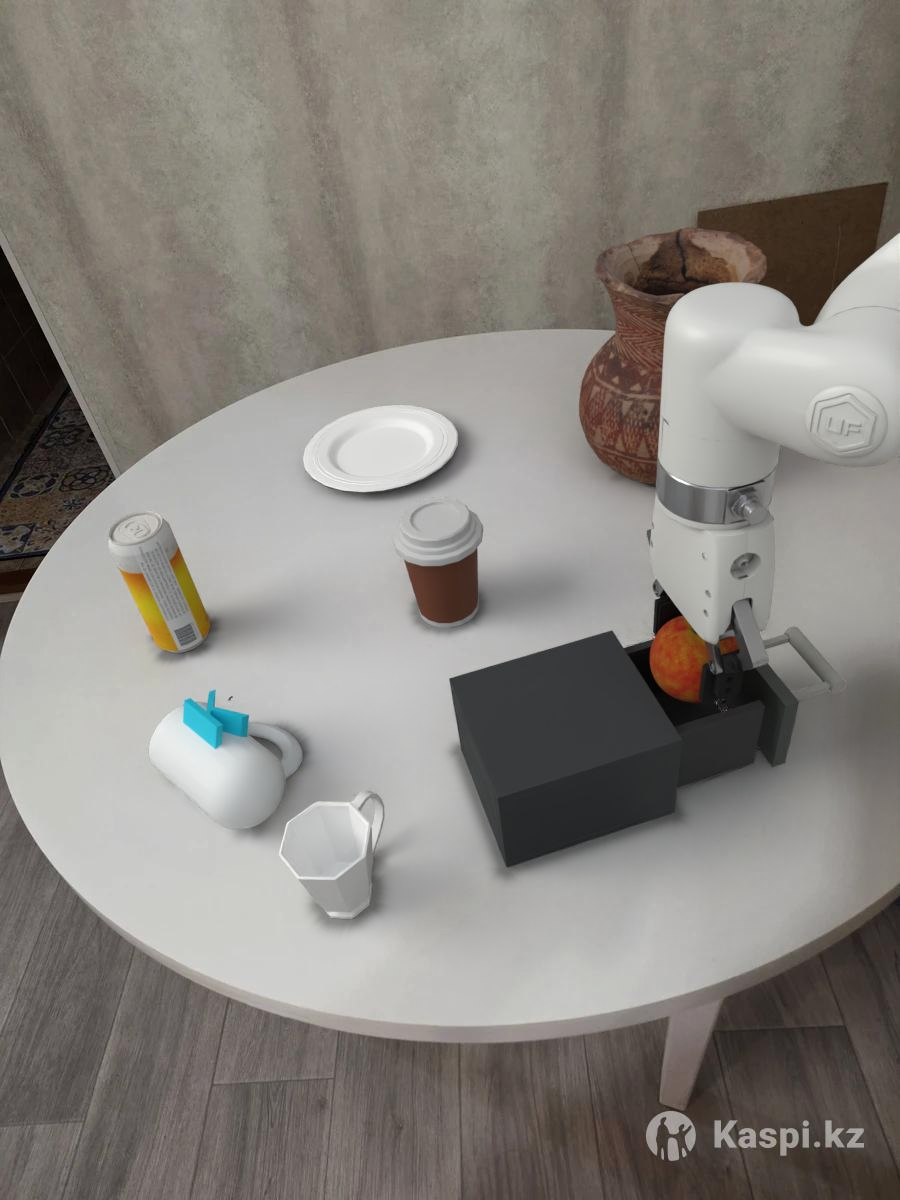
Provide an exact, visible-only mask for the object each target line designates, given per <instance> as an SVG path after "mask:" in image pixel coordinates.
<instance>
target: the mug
mask: <svg viewBox="0 0 900 1200" xmlns="http://www.w3.org/2000/svg"><path fill="white" fill-rule="evenodd" d="M216 692H217V691H216V689H213V690H210V691H208V697H207V702H204V701H197V700H196V701H195V700H194V699H193V698H192V697H189V698H187V699H184V700H183V705H182V704H181V705H180V706H178V707H176V708H174V709H173V710H171V712H169V713H168V714H166V715H165V717H163V719H162V720H161V721H160V722H159V724H158V725H157V726H156V727H155V730H154V732H153V734H152V736H151V738H150V742H149V746H148V754H149V761H150V762H151V764H152V765H153V766H154V768H155V769H156V770H157V771H159V773H161V774H162V776H164V777H165V778H166V779H167V780H168V781H170V782H171V784H173V785H174V786H175V787H176V788H177V789H178V790H179V791H181V792H182V794H184V795H185V797H187V798H188V799H189V800H190V801H192V803H194V804H195V805H196V806H197V807H198V808H199V809H200V810H201V811H203V812H204V813H205V814H206V815H207V816H208V817H209V818H210V819H212V821H213V822H215V824H217V825H219V826H221V827H223V828H226V829H229V830H237V831H238V830H239V831H240V830H247V829H250V828H254V827H256V826H258V825H260V824H262V823H263V822H265V821H266V820H268V819H269V818H270V817H271V816H272V815H273V814H274V813H275V811H276V810H277V809H278V808H279V806H280V804H281V802H282V800H283V798H284V795H285V790H286V779H287V778H289V777H291V776H292V775H293V774H294V773H295V772H296V771H297V770H298V769H299V768H300V766H301V763H302V761H303V749H302V746H301V744H300V742H299V740H297V739H296V738H295V736H293V735H292V734H291V733H290V732H288V731H286V730H285V729H283V728H282V727H280V726H276V725H274V724H270V723H266V722H265V723H264V722H260V721H249V720H250V714H246V713H243V712H239V711H234V710H229V709H225V708H222V707H218V706H216V705H215V704H216ZM253 737H255V738H261V739H264V740H267V741H270V742H271V743H273V744H275V745H276V746H277V747H278V748H279V749H280V752H281V759H280V760H279V759H278V757H277V756H276V755H275V754H274V753H272V752H271V751H270V750H269V749H268V748H266V747H264V745H262V744H261V743H260V742H258V741H257V740H256V739H255V738H253Z"/></svg>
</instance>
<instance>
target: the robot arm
mask: <svg viewBox="0 0 900 1200" xmlns="http://www.w3.org/2000/svg"><path fill="white" fill-rule="evenodd" d="M781 446H782V447H785V448H787V449H789V450H792V451H795V452H796V453H799V454H802V455H804V456H806V457H808V458H812V459H815V460H817V461H820V462H824V463H827V464H831V465H834V466H839V467H848V468H871V467H876V466H880V465H884V464H886V463H889V462H891V461H894V460H896V459H897V458H899V457H900V232H899V233H897V234H896V235H895V236H894V237H892V238H891V239H890V240H889V241H887V242H886V243H885V244H884V245H883V246H881V247H880V248H879V249H878V250H877V251H875V252H874V253H873V254H871V255H870V256H869V257H868V258H867V259H865V261H863V262H862V263H861V264H859V266H857V267H856V268H855V269H853V271H852V272H850V274H848V275H847V277H845V278H844V279H843V281H841V283H840V284H839V285H838V286H837V287H836V288H835V290H834V291H833V292H832V293H831V294H830V296H829V297H828V299H827V300H826V302H825V303H824V305H823V306H822V308H821V309H820V311H819V313H818V315H817V317H816V318H815V320H814V322H813V323H812V324H811V325H808V326H807V325H803V324H802V323H801V320H800V316H799V313H798V310H797V307H796V306H795V304H794V303H793V301H792V300H791V299H790V298H789V297H788V296H786V295H785V294H784V293H782V292H781V291H779V290H777V289H775V288H772V287H771V286H767V285H762V284H760V283H758V284H752V283H741V282H731V283H720V284H714V285H708V286H704V287H701V288H698V289H696V290H693V291H691V292H690V293H688V294H686V295H685V296H683V297H682V298H681V299H679V300H678V301H677V303H676V304H675V305H674V306H673V308H672V309H671V311H670V313H669V315H668V318H667V321H666V325H665V334H664V350H663V369H662V387H661V406H660V427H659V446H658V459H657V478H656V485H655V499H654V504H653V512H652V519H651V526H650V527H651V528H649V529H647V530H646V538H647V541H648V545H649V562H650V564H649V565H650V569H651V571H652V573H653V576H654V577H655V579H654V581H653V583H652V591H653V594H654V596H655V597H656V598H655V599H654V607H653V623H652V633H653V635H654V637H655V636H656V634H657V633H658V631H659V630H660V629H661V627H662V626H663V625H665V624H666V623H667V622H669V621H670V620H672V619H674V618H677V617H679V616H684V617H685V619H686V620H687V621H688V622H689V624H690V625H691V626H692V628H693V629H694V630H695V631H696V633H697V634H698V635H699V636H700V637H701V638H702V639H703V640H705V646H706V652H707V658H708V663H705V664H704V665H703V667H702V675H701V684H700V692H699V699H700V701H701V702H702V703H703V704H708V703H712V702H715V703H716V702H717V701H724V700H725V699H729V698H731V697H733V696H734V695H737V694H738V693H739V692H740V689H741V683H742V677H743V671H746V670H751V669H754V668H758V667H761V666H764V665H767V664H769V665H770V658H769V655H768V651H767V649H765V646H764V643H763V641H764V640H763V637H762V635H761V632H763V631H765V630H766V629H767V627H768V624H769V621H770V616H771V609H772V603H773V594H774V586H775V571H776V531H775V522H774V516H773V515H772V513H771V512H770V508H771V504H772V500H773V494H774V488H775V481H776V475H777V470H778V463H779V456H780V451H781ZM730 622H731V624H730ZM731 637H733V641H734V647H735V651H732V652H728V653H725V654H722V655H721V652H720V646H719V641H721V640H724V639H728V638H731Z"/></svg>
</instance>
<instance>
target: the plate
mask: <svg viewBox="0 0 900 1200" xmlns="http://www.w3.org/2000/svg"><path fill="white" fill-rule="evenodd" d="M458 447H459V433H458V430H457V428H456V426H455V424H454V423H453V422H452V421H450V420H449V419H448V417H446V416H445V415H444V414H441V413H439V412H436V411H435V410H432V409H431V408H426V407H420V406H417V405H407V404H406V405H405V404H391V405H390V404H389V405H382V406H381V405H379V406H373V407H369V408H364V409H360V410H357V411H355V412H351V413H348V414H346V415H343V416H340V417H339V418H337V419H335V420H333V421H332V422H329V423H328V424H326V425H325V426H324V427H322V428H321V429H320V430H319V431H317V433H315V434H314V435H313V436H312V438H311V439H310V440H309V442H308V443H307V445H306V446H305V449H304V451H303V456H302V461H303V466H304V469H305V471H306V472H307V474H308V475H309V476H310V478H311V479H312V480H313V481H315V482H317V483H318V484H320V485H322V486H323V487H326V488H328V489H332V490H335V491H339V492H343V493H352V494H353V493H354V494H373V493H386V492H391V491H394V490H398V489H402V488H406V487H409V486H411V485H414V484H416V483H418V482H421V481H424V480H426V479H427V478H429V477H431V476H432V475H434V474H435V473H437V472H438V471H440V470H441V469H443V467H445V465H447V463H448V462H450V460H452V459H453V457H454V454H455V453H456V451H457V449H458Z"/></svg>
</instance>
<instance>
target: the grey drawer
mask: <svg viewBox="0 0 900 1200" xmlns="http://www.w3.org/2000/svg"><path fill="white" fill-rule="evenodd" d="M730 624H731V622H730ZM653 640H654V638H652V639H649V640H645V641H642V642H639V643H635V644H631V645H629V646H628V645H627V646H625V647H623V648H624V649H625V651H626V652H627V654H628V656H629V657H630V659H631V660H632V662H633V663H634V665H635V666H636V668H637V670H638V671H639V673H640V674H641V676H642V677H643V679H644V680H645V682H646V684H647V685H648V687H649V688H650V690H651V691H652V693H653V694H654V696H655V698H656V699H657V701H658V702H659V704H660V705H661V707H662V708H663V710H664V712H665V713H666V715H667V716H668V718H669V719H670V721H671V723H672V724H673V726H674V727H675V729H676V730H677V732H678V733H679V735H680V737H681V738H682V747H681V756H680V766H679V776H678V785H677V789H679V788H683V787H686V786H688V785H692V784H695V783H698V782H702V781H704V780H707V779H711V778H714V777H717V776H719V775H723V774H725V773H729V772H731V771H736V770H738V769H741V768H744V767H747V766H751V765H752V764H754V763H755V759H756V755H757V750H759V751H760V752H761V754H762V755H763V757H764V758H765V760H766V761H767V762H768V763H769V765H770V766H771V767H772V768H775V767H778V766H781V765H785V764H786V761H787V756H788V752H789V748H790V744H791V739H792V736H793V731H794V727H795V723H796V718H797V716H798V715H797V714H798V711H799V706H800V700H804V699H807V698H810V697H813V696H816V695H820V694H823V693H826V692H829V691H830V692H831V693H832V694H838V693H841V692H842V691H843V690H845V688H847V681H846V680H845V679H844V678H843V676H842V675H840V673H839V672H838V671H837V670H836V668H834V667H833V665H832V664H831V663H830V662H829V661H828V660H827V658H826V657H824V656H823V654H822V653H821V652H820V651H819V650H818V649H817V647H816V646H815V645H814V644H813V643H812V642H811V640H809V639H808V638H807V636H806V635H805V633H803V631H802V630H801V629H800V628H799V627H797V626H791V627H789V628H788V629H786V630H785V631H784V633H783V634H781V635H776V636H774V637H771V638H768V639H764V640H763V643H764V646H765V649H766V650H769V649H771V648H775V647H779V646H783V645H785V644H790V646H791V647H792V648H793V650H795V652H796V653H797V654H798V655H799V656H800V657H801V659H802V660H803V661H804V662H805V664H806V665H807V666H808V667H809V668H810V669H811V670H812V672H814V674H815V675H816V677H818V679H820V681H821V682H818V683H816V684H813V685H809V686H806V687H803V688H800V689H796V690H794V691H791V690H790V689H789V687H788V686H787V685H786V684H785V682H784V680H783V679H781V677H780V676H779V675H778V674H777V673H776V671H775V670H774V669H773V667H772V666H771V665H770V663H769V664H767V665H764V666H761V667H758V668H754V669H751V670H746V671H743V677H742V683H741V689H740V692H739V693H738V694H737V695H734V696H733V697H731V698H729V699H725V700H723V701H724V702H725V704H726V705H727V707H728V708H729V709H726V710H722V709H720V707H719V705H718V704H717V703H716V701H715V702H712V703H708V704H703V703H690V702H685V701H681V700H678V699H676V698H673V697H672V696H670V695H668V694H667V693H666V692H664V691H663V690H662V689H661V688H660V686H659V685H658V684H657V682H656V680H655V679H654V676H653V674H652V671H651V667H650V650H651V646H652V643H653Z"/></svg>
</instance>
